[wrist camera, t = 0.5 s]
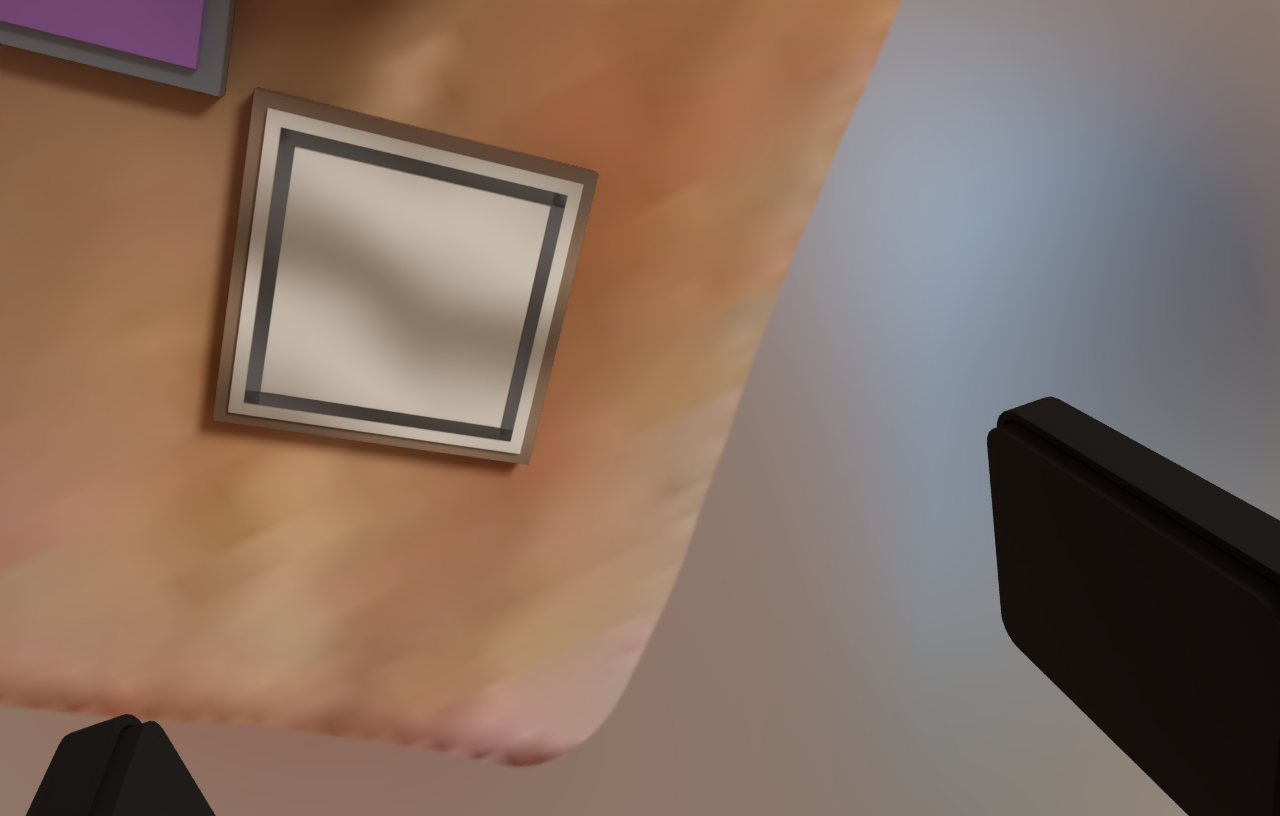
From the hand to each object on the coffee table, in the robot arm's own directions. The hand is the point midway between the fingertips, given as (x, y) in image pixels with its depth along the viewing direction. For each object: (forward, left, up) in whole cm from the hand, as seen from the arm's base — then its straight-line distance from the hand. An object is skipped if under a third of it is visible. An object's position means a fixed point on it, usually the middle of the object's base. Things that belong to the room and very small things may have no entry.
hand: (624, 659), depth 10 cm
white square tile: (+3, -1, -27) cm, 28 cm away
